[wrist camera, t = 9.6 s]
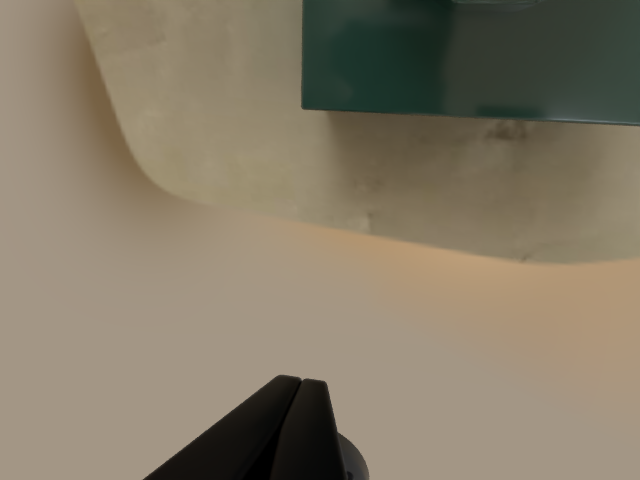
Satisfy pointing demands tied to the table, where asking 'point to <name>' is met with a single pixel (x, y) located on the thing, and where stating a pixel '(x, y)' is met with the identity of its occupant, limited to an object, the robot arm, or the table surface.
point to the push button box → (474, 59)
